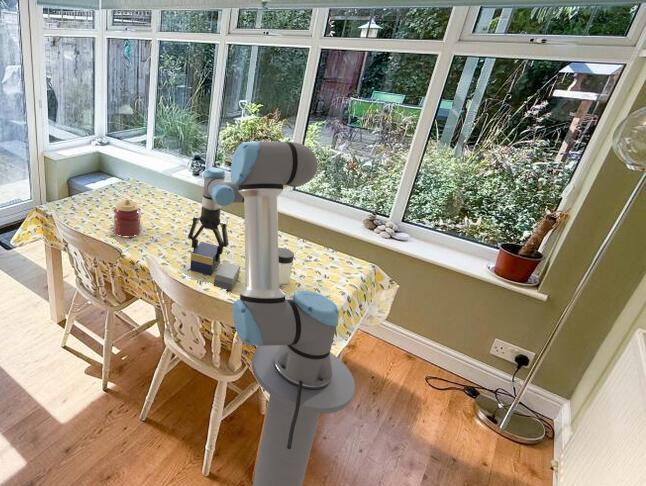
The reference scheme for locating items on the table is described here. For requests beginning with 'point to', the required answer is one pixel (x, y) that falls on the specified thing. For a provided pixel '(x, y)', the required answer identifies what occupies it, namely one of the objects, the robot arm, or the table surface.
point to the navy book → (205, 253)
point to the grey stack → (227, 276)
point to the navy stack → (204, 267)
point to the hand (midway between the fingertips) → (206, 257)
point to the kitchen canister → (127, 218)
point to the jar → (285, 265)
